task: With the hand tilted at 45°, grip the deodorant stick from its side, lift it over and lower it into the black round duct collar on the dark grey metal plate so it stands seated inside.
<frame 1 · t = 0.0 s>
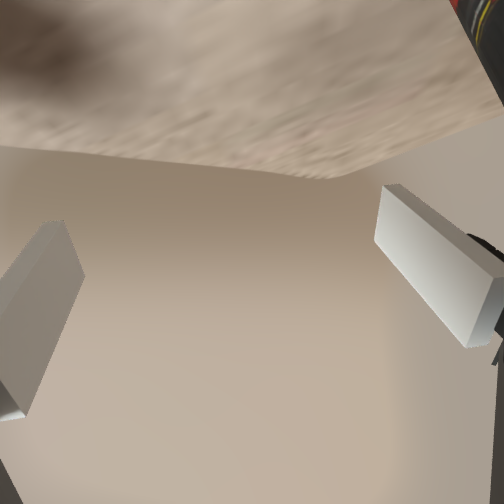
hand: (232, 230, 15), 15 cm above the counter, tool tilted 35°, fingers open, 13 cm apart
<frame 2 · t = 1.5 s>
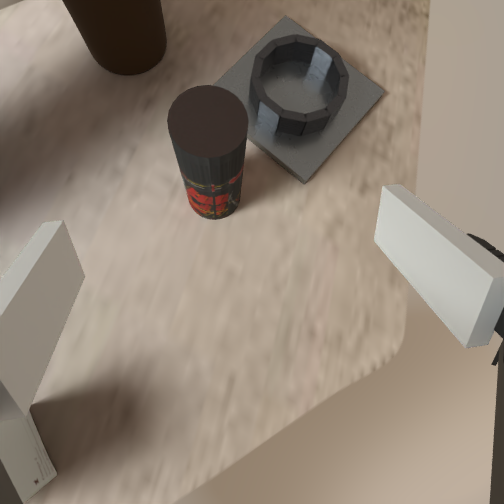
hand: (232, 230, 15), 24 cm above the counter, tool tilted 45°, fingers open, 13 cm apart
olive oil: (129, 44, 44), on the counter
supplement box: (9, 458, 34), on the counter
deodorant: (214, 195, 41), on the counter
duct flange: (293, 98, 44), on the counter
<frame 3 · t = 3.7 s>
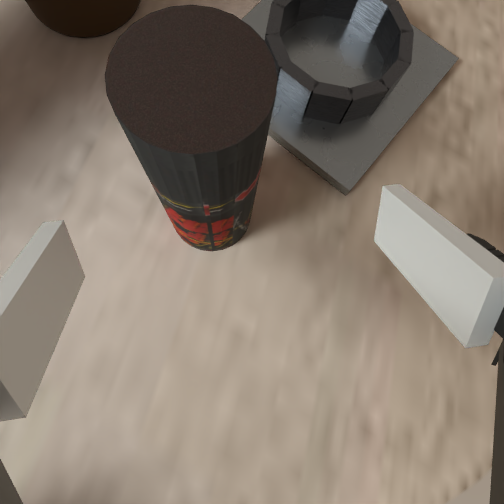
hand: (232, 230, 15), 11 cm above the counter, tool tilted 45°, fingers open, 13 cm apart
deodorant: (211, 213, 27), on the counter
duct flange: (326, 70, 30), on the counter
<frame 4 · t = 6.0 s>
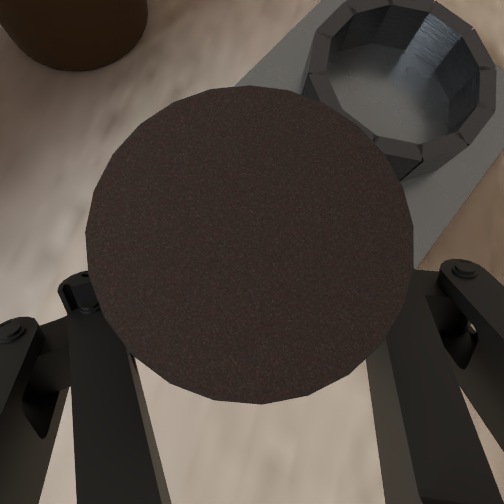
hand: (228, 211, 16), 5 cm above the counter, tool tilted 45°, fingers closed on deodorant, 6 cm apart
olive oil: (82, 16, 25), on the counter
deodorant: (236, 299, 21), on the counter, touching gripper
duct flange: (376, 112, 24), on the counter
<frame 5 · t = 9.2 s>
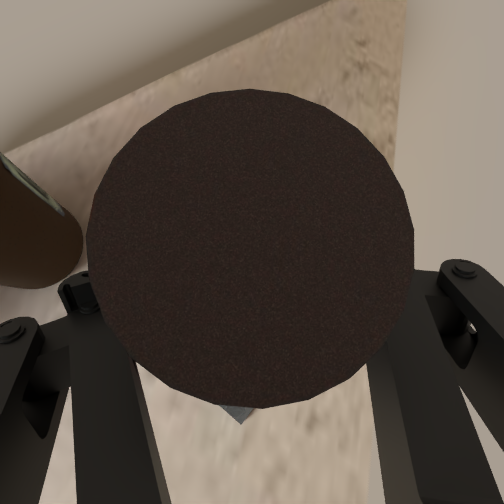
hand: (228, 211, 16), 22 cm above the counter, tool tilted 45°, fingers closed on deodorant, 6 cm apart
olive oil: (40, 245, 38), on the counter
deodorant: (236, 300, 21), point 17 cm above the counter, touching gripper
duct flange: (231, 308, 38), on the counter
when the fingers open (8 cm above the counter, at t = 12.3 s): deodorant drops 1 cm, resting on duct flange.
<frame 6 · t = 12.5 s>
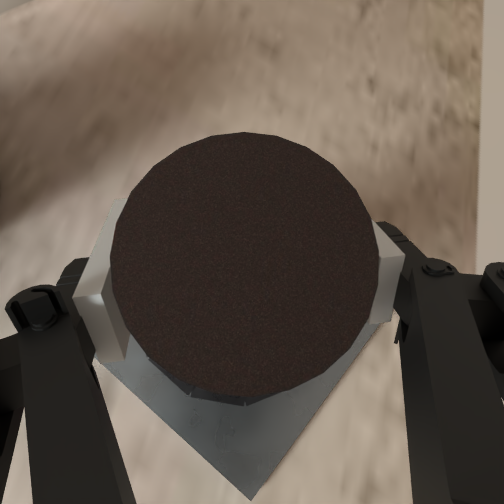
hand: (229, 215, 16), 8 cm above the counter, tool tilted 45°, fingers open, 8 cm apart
deodorant: (235, 303, 23), point 1 cm above the counter, touching duct flange
duct flange: (235, 302, 23), on the counter
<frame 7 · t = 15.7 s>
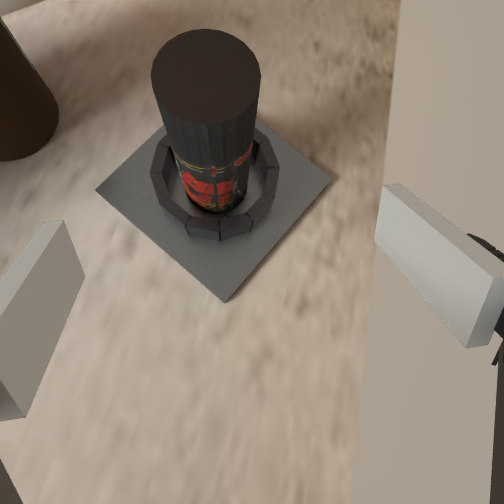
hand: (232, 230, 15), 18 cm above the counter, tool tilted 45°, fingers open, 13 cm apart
olive oil: (12, 119, 35), on the counter
deodorant: (216, 185, 34), point 1 cm above the counter, touching duct flange
duct flange: (217, 187, 35), on the counter
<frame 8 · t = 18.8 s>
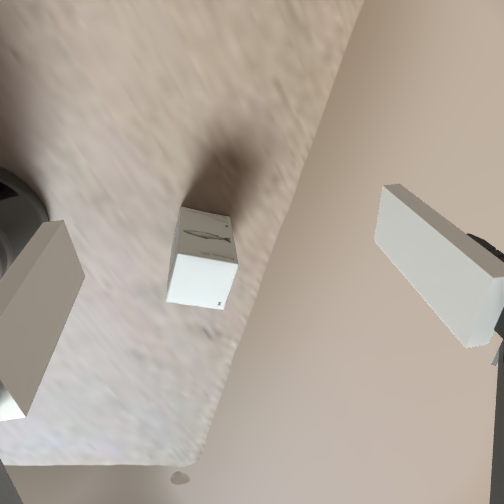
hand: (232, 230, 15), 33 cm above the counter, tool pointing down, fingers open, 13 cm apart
supplement box: (199, 231, 52), on the counter
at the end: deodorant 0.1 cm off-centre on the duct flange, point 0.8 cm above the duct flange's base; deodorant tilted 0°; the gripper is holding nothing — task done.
